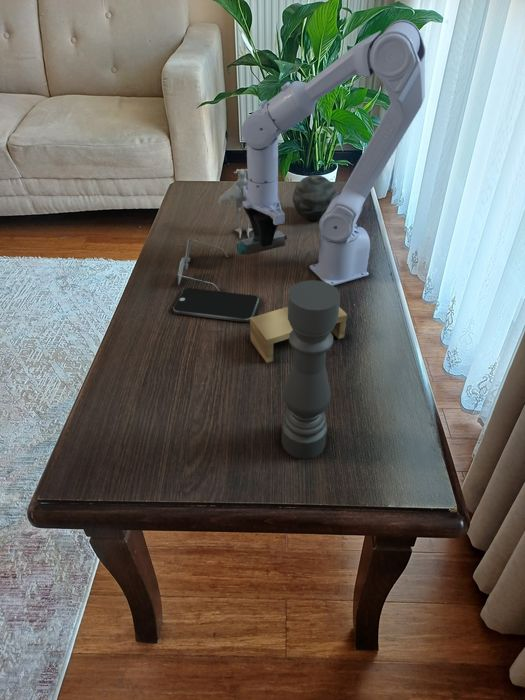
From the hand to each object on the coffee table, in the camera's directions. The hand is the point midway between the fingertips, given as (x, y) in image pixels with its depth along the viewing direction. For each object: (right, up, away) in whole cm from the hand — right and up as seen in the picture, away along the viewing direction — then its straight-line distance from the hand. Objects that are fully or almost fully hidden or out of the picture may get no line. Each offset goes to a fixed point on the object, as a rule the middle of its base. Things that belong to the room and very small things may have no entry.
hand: (263, 241), depth 107 cm
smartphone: (-9, -14, -9) cm, 19 cm away
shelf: (+6, -20, -17) cm, 27 cm away
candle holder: (+6, -35, -34) cm, 49 cm away
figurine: (-4, +4, +11) cm, 13 cm away
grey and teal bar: (0, -1, +1) cm, 1 cm away
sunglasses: (-12, -7, -1) cm, 14 cm away
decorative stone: (+12, +9, +17) cm, 23 cm away
